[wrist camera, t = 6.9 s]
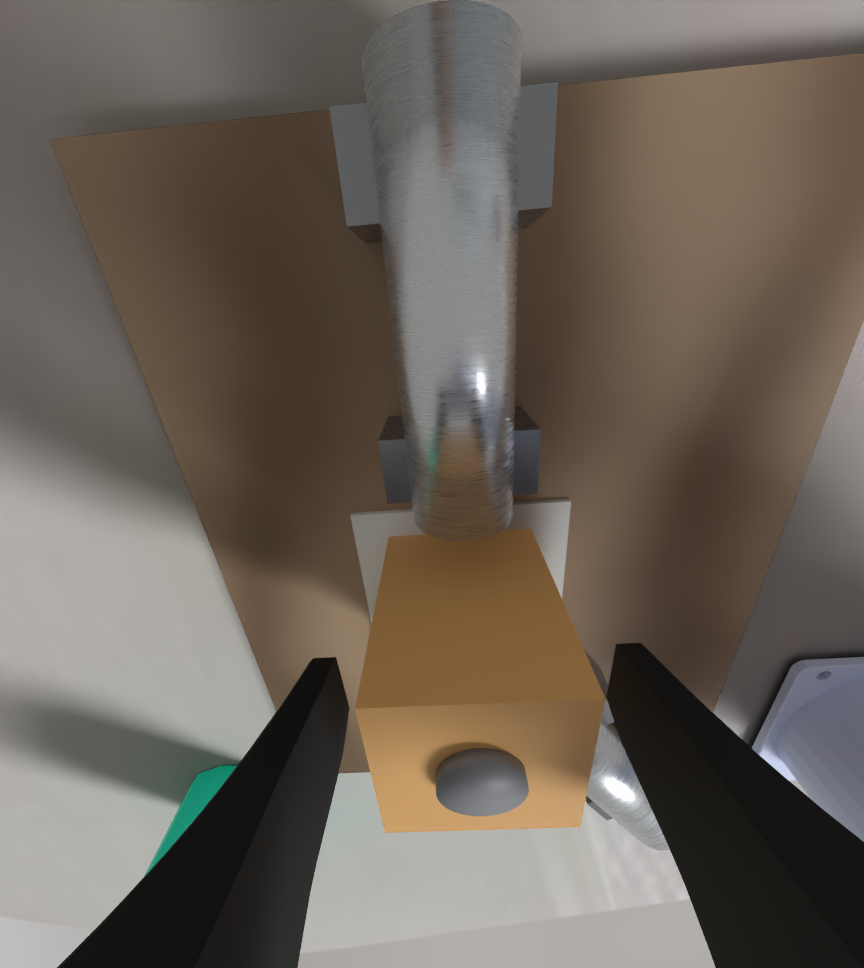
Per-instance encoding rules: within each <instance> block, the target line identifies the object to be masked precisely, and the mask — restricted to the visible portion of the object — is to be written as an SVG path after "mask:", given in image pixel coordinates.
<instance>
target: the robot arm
mask: <svg viewBox="0 0 864 968" xmlns="http://www.w3.org/2000/svg"><path fill="white" fill-rule="evenodd" d="M606 698H607V701H608V704H609V707H610V710H611V713H612V716H613V719H614V722H615V725H616V728H617V731H618V734H619V737H620V740H621V742H622V745H623V747H624V749H625V752H626V754H627V756H628V758H629V760H630V763H631V765H632V767H633V769H634V772H635V774H636V776H637V778H638V780H639V783H640V785H641V787H642V789H643V791H644V794H645V796H646V798H647V800H648V802H649V805H650V807H651V809H652V811H653V813H654V816H655V818H656V820H657V822H658V824H659V827H660V829H661V831H662V833H663V835H664V837H665V840H666V842H667V844H668V846H669V848H670V851H671V853H672V855H673V857H674V860H675V862H676V864H677V867H678V869H679V871H680V874H681V876H682V879H683V881H684V883H685V886H686V888H687V891H688V894H689V896H690V899H691V902H692V904H693V907H694V910H695V912H696V915H697V918H698V920H699V923H700V926H701V929H702V931H703V934H704V936H705V939H706V942H707V944H708V947H709V950H710V953H711V955H712V958H713V961H714V964H715V967H716V968H864V657H851V658H830V659H809V660H801V661H799V662H796V663H795V664H793V665H792V667H791V668H790V670H789V672H788V674H787V676H786V678H785V680H784V682H783V684H782V686H781V688H780V690H779V693H778V695H777V697H776V699H775V701H774V703H773V705H772V707H771V709H770V711H769V713H768V715H767V717H766V719H765V721H764V723H763V726H762V728H761V730H760V732H759V734H758V736H757V738H756V740H755V742H754V744H753V746H752V748H751V747H750V746H748V745H747V744H746V743H745V742H744V741H743V740H742V739H741V738H740V737H738V736H737V735H736V734H735V733H734V732H733V731H732V730H731V729H730V728H729V727H728V726H727V725H726V724H724V723H723V722H722V721H721V720H720V719H719V718H718V717H717V716H716V715H715V714H714V713H713V712H712V711H710V710H709V709H708V708H707V707H706V706H705V705H704V704H703V703H702V702H701V701H700V700H699V699H698V698H697V697H696V696H695V695H694V694H693V693H692V692H691V691H690V690H689V689H688V688H687V687H685V686H684V685H683V684H682V683H681V682H680V681H679V680H678V679H677V678H676V677H675V676H674V675H673V674H672V673H671V672H670V671H669V670H668V669H667V668H666V667H665V666H664V665H663V664H662V663H661V662H660V661H659V660H658V659H657V658H656V657H655V656H654V655H653V654H652V653H651V652H650V651H649V650H648V649H647V648H646V647H645V646H644V645H643V644H642V643H623V644H616V647H615V653H614V658H613V663H612V669H611V674H610V680H609V685H608V690H607V696H606ZM348 716H349V704H348V700H347V696H346V692H345V689H344V685H343V681H342V677H341V674H340V670H339V666H338V662H337V658H336V657H326V658H313V659H312V660H311V661H310V662H309V664H308V665H307V667H306V668H305V670H304V671H303V673H302V674H301V676H300V678H299V679H298V681H297V682H296V684H295V685H294V687H293V688H292V690H291V691H290V693H289V694H288V696H287V697H286V699H285V700H284V702H283V703H282V704H281V706H280V707H279V709H278V710H277V712H276V713H275V715H274V716H273V717H272V719H271V720H270V722H269V723H268V724H267V726H266V727H265V729H264V730H263V731H262V733H261V734H260V736H259V737H258V739H257V740H256V741H255V743H254V744H253V746H252V747H251V748H250V750H249V751H248V752H247V754H246V755H245V756H244V758H243V759H242V760H241V761H240V763H239V764H238V765H237V767H236V768H235V769H234V771H233V772H232V773H231V774H230V776H229V777H228V778H227V780H226V781H225V782H224V784H223V785H222V786H221V787H220V789H219V790H218V791H217V793H216V794H215V795H214V796H213V798H212V799H211V800H210V801H209V802H208V804H207V805H206V806H205V807H204V809H203V810H202V811H201V812H200V814H199V815H198V816H197V817H196V818H195V820H194V821H193V822H192V823H191V824H190V825H189V827H188V828H187V829H186V830H185V831H184V832H183V834H182V835H181V836H180V837H179V838H178V839H177V841H176V842H175V843H174V844H173V845H172V846H171V848H170V849H169V850H168V851H167V852H166V853H165V854H164V856H163V857H162V858H161V859H160V860H159V861H158V862H157V863H156V864H155V866H154V867H153V868H152V869H151V870H150V871H149V872H148V873H147V874H146V875H145V877H144V878H143V879H142V880H141V881H140V882H139V883H138V884H137V885H136V887H135V888H134V889H133V890H132V891H131V892H130V893H129V894H128V895H127V896H126V897H125V899H124V900H123V901H122V902H121V903H120V904H119V905H118V906H117V907H116V908H115V909H114V910H113V911H112V912H111V913H110V914H109V916H108V917H107V918H106V919H105V920H104V921H103V922H102V923H101V924H100V925H99V926H98V927H97V928H96V929H95V930H94V931H93V932H92V933H91V934H90V935H89V936H88V937H87V938H86V939H85V940H84V941H83V942H82V943H81V944H80V945H79V946H78V947H77V948H76V949H75V950H74V951H73V952H72V954H71V955H69V956H68V957H67V958H66V959H65V960H64V961H63V963H61V964H60V965H59V966H58V967H57V968H297V967H298V960H299V954H300V949H301V943H302V937H303V931H304V925H305V919H306V913H307V908H308V902H309V896H310V891H311V886H312V881H313V877H314V872H315V867H316V863H317V859H318V855H319V851H320V847H321V842H322V838H323V834H324V830H325V826H326V822H327V818H328V814H329V810H330V806H331V802H332V798H333V793H334V789H335V785H336V781H337V777H338V773H339V768H340V764H341V760H342V756H343V751H344V744H345V738H346V731H347V723H348ZM789 780H797V781H798V782H799V784H800V785H801V786H802V788H803V789H804V790H805V792H806V793H807V794H808V796H809V797H810V798H811V799H812V800H811V799H810V798H809V797H807V796H806V795H805V794H804V793H803V792H801V791H800V790H799V789H798V788H797V787H796V786H794V785H793V784H792V783H791V782H790V781H789Z"/></svg>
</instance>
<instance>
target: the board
mask: <svg viewBox="0 0 864 968" xmlns="http://www.w3.org/2000/svg"><path fill="white" fill-rule="evenodd" d="M49 140H50V143H51V145H52V148H53V150H54V153H55V155H56V158H57V160H58V163H59V165H60V168H61V170H62V173H63V175H64V178H65V180H66V183H67V185H68V188H69V190H70V193H71V195H72V198H73V200H74V203H75V206H76V208H77V211H78V213H79V216H80V218H81V221H82V223H83V226H84V228H85V231H86V233H87V236H88V238H89V241H90V243H91V246H92V248H93V251H94V253H95V256H96V258H97V261H98V263H99V266H100V268H101V271H102V273H103V276H104V278H105V281H106V283H107V286H108V288H109V291H110V293H111V296H112V298H113V301H114V303H115V306H116V309H117V311H118V314H119V316H120V319H121V321H122V324H123V326H124V329H125V331H126V334H127V336H128V339H129V341H130V344H131V346H132V349H133V351H134V354H135V356H136V359H137V361H138V364H139V366H140V369H141V371H142V374H143V376H144V379H145V381H146V384H147V386H148V389H149V391H150V394H151V396H152V399H153V401H154V404H155V407H156V409H157V412H158V414H159V417H160V419H161V422H162V424H163V427H164V429H165V432H166V434H167V437H168V439H169V442H170V444H171V447H172V449H173V452H174V454H175V457H176V459H177V462H178V464H179V467H180V469H181V472H182V474H183V477H184V479H185V482H186V484H187V487H188V489H189V492H190V494H191V497H192V499H193V502H194V504H195V507H196V510H197V512H198V515H199V517H200V520H201V522H202V525H203V527H204V530H205V532H206V535H207V537H208V540H209V542H210V545H211V547H212V550H213V552H214V555H215V557H216V560H217V562H218V565H219V567H220V570H221V572H222V575H223V577H224V580H225V582H226V585H227V587H228V590H229V592H230V595H231V597H232V600H233V602H234V605H235V608H236V610H237V613H238V615H239V618H240V620H241V623H242V625H243V628H244V630H245V633H246V635H247V638H248V640H249V643H250V645H251V648H252V650H253V653H254V655H255V658H256V660H257V663H258V665H259V668H260V670H261V673H262V675H263V678H264V680H265V683H266V685H267V688H268V690H269V693H270V695H271V698H272V700H273V703H274V705H275V708H276V711H277V710H278V709H279V707H280V706H281V704H282V703H283V702H284V700H285V699H286V697H287V696H288V694H289V693H290V691H291V690H292V688H293V687H294V685H295V684H296V682H297V681H298V679H299V678H300V676H301V674H302V673H303V671H304V670H305V668H306V667H307V665H308V664H309V662H310V661H311V660H312V659H313V658H326V657H336V658H337V662H338V666H339V670H340V674H341V677H342V681H343V685H344V689H345V692H346V696H347V700H348V704H349V716H348V723H347V731H346V738H345V744H344V751H343V756H342V760H341V764H340V768H339V773H358V772H370V768H369V764H368V760H367V756H366V752H365V748H364V744H363V740H362V736H361V732H360V728H359V724H358V719H357V715H356V711H355V706H356V701H357V695H358V690H359V685H360V680H361V675H362V670H363V665H364V660H365V655H366V650H367V644H368V639H369V634H370V629H371V624H372V619H373V614H374V609H375V604H376V599H377V593H378V588H379V583H380V578H381V573H382V568H383V563H384V558H385V553H386V548H387V542H388V537H390V536H408V535H426V534H425V533H423V532H422V531H421V530H420V529H419V528H418V527H417V526H416V524H415V522H414V518H413V509H412V502H407V503H392V504H387V499H386V492H385V485H384V478H383V471H382V464H381V457H380V451H379V444H378V440H379V437H380V435H381V433H382V430H383V428H384V425H385V423H386V420H387V418H388V417H392V416H402V412H401V403H400V395H399V386H398V377H397V368H396V359H395V351H394V342H393V333H392V324H391V315H390V307H389V298H388V289H387V280H386V271H385V263H384V254H383V245H382V242H376V243H364V242H363V241H362V240H361V239H360V238H359V237H358V236H357V235H356V234H355V233H353V232H352V231H351V230H350V229H349V228H348V227H347V224H346V218H345V211H344V204H343V197H342V190H341V183H340V176H339V170H338V163H337V156H336V149H335V142H334V135H333V128H332V122H331V115H330V110H320V111H311V112H301V113H292V114H283V115H273V116H264V117H254V118H245V119H235V120H226V121H216V122H207V123H198V124H188V125H179V126H169V127H160V128H150V129H141V130H132V131H122V132H113V133H103V134H94V135H84V136H75V137H66V138H56V139H49ZM863 320H864V53H858V54H849V55H839V56H830V57H820V58H811V59H801V60H792V61H783V62H773V63H764V64H754V65H745V66H735V67H726V68H717V69H707V70H698V71H688V72H679V73H669V74H660V75H651V76H641V77H632V78H622V79H613V80H603V81H594V82H584V83H575V84H566V85H558V93H557V113H556V133H555V153H554V173H553V193H552V208H550V209H549V210H548V211H547V212H546V213H544V214H543V215H542V216H541V217H540V218H538V219H537V220H536V221H535V222H534V223H532V224H531V225H530V226H529V227H528V228H526V229H518V252H517V307H516V362H515V407H522V408H523V409H524V410H525V411H526V413H527V414H528V415H529V416H530V417H531V418H532V420H533V421H534V422H535V423H536V424H537V425H538V426H539V428H540V429H541V435H540V455H539V475H538V494H529V495H514V496H513V517H512V521H511V522H510V524H509V525H508V526H507V527H506V528H505V529H504V530H515V529H532V531H533V534H534V536H535V538H536V541H537V543H538V545H539V547H540V550H541V552H542V554H543V557H544V559H545V561H546V564H547V566H548V568H549V570H550V573H551V575H552V577H553V580H554V582H555V584H556V586H557V589H558V591H559V593H560V596H561V598H562V600H563V603H564V605H565V607H566V609H567V612H568V614H569V616H570V619H571V621H572V623H573V625H574V628H575V630H576V632H577V635H578V637H579V639H580V641H581V644H582V646H583V648H584V649H585V650H586V651H587V652H588V654H589V655H590V656H591V657H592V658H593V659H594V660H595V661H596V662H597V663H598V665H599V666H600V668H601V670H602V672H603V674H604V676H605V679H606V681H607V683H608V685H609V680H610V674H611V669H612V663H613V658H614V653H615V647H616V644H623V643H642V644H643V645H644V646H645V647H646V648H647V649H648V650H649V651H650V652H651V653H652V654H653V655H654V656H655V657H656V658H657V659H658V660H659V661H660V662H661V663H662V664H663V665H664V666H665V667H666V668H667V669H668V670H669V671H670V672H671V673H672V674H673V675H674V676H675V677H676V678H677V679H678V680H679V681H680V682H681V683H682V684H683V685H684V686H685V687H687V688H688V689H689V690H690V691H691V692H692V693H693V694H694V695H695V696H696V697H697V698H698V699H699V700H700V701H701V702H702V703H703V704H704V705H705V706H706V707H707V708H708V709H709V710H710V711H712V712H713V711H714V708H715V706H716V703H717V701H718V698H719V695H720V693H721V690H722V688H723V685H724V682H725V680H726V677H727V675H728V672H729V669H730V667H731V664H732V662H733V659H734V656H735V654H736V651H737V649H738V646H739V643H740V641H741V638H742V635H743V633H744V630H745V628H746V625H747V622H748V620H749V617H750V615H751V612H752V609H753V607H754V604H755V602H756V599H757V596H758V594H759V591H760V589H761V586H762V583H763V581H764V578H765V576H766V573H767V570H768V568H769V565H770V563H771V560H772V557H773V555H774V552H775V550H776V547H777V544H778V542H779V539H780V537H781V534H782V531H783V529H784V526H785V524H786V521H787V518H788V516H789V513H790V510H791V508H792V505H793V503H794V500H795V497H796V495H797V492H798V490H799V487H800V484H801V482H802V479H803V477H804V474H805V471H806V469H807V466H808V464H809V461H810V458H811V456H812V453H813V451H814V448H815V445H816V443H817V440H818V438H819V435H820V432H821V430H822V427H823V425H824V422H825V419H826V417H827V414H828V412H829V409H830V406H831V404H832V401H833V399H834V396H835V393H836V391H837V388H838V385H839V383H840V380H841V378H842V375H843V372H844V370H845V367H846V365H847V362H848V359H849V357H850V354H851V352H852V349H853V346H854V344H855V341H856V339H857V336H858V333H859V331H860V328H861V326H862V323H863ZM611 725H612V726H613V727H614V728H615V729H616V730H617V728H616V725H615V722H613V723H611Z"/></svg>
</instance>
